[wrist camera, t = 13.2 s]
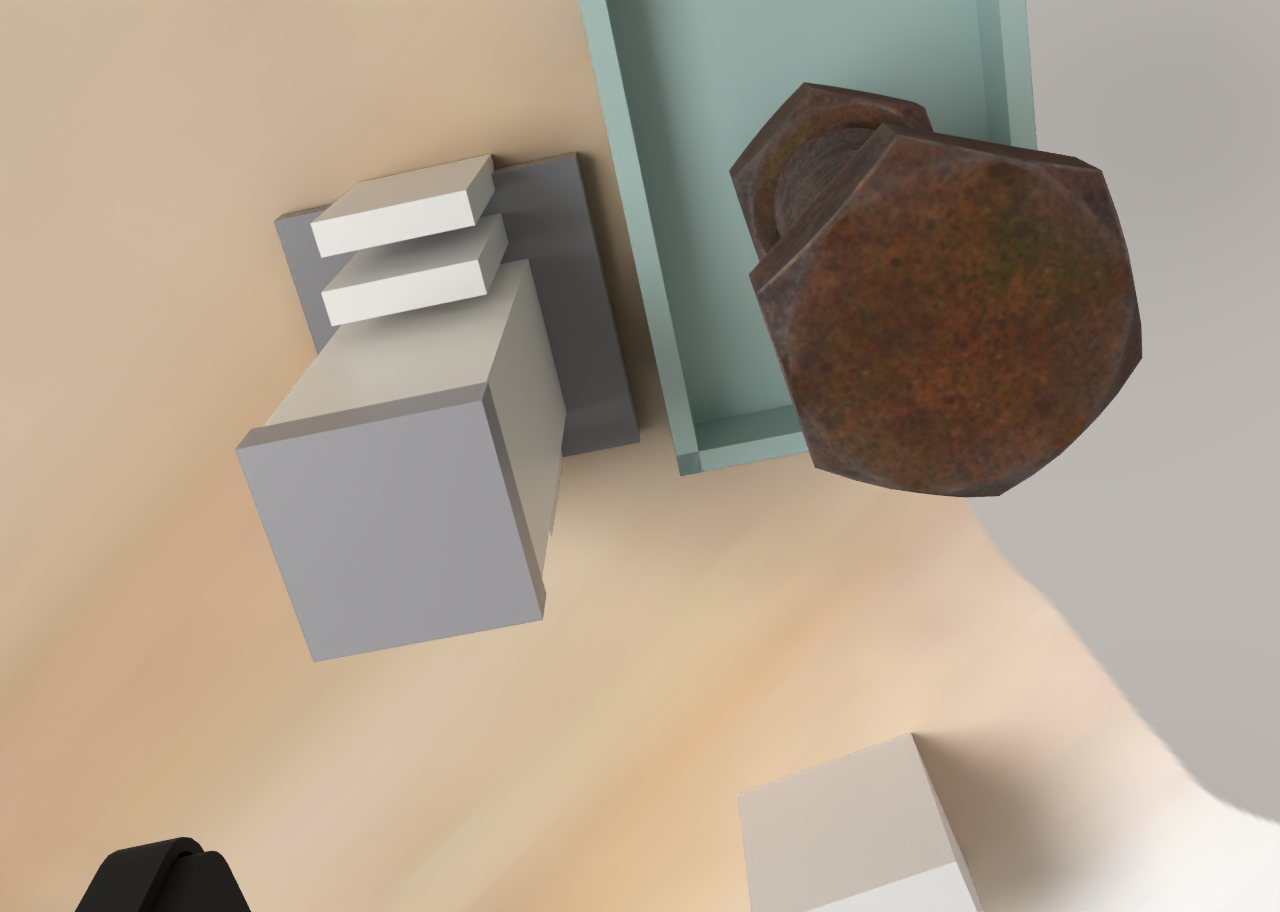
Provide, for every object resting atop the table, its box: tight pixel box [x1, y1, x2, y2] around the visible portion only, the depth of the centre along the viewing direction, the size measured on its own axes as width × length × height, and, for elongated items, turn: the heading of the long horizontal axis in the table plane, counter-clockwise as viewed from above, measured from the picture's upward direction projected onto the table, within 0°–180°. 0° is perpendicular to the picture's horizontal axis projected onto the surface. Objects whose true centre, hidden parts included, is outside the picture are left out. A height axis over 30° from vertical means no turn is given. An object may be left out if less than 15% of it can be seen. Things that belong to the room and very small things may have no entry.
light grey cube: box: [737, 733, 984, 912], centre depth 37 cm, size 6×6×6 cm
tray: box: [579, 0, 1037, 476], centre depth 30 cm, size 14×10×2 cm
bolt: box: [729, 82, 1142, 497], centre depth 24 cm, size 6×5×15 cm
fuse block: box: [235, 152, 640, 662], centre depth 25 cm, size 23×8×12 cm, turn 12°
